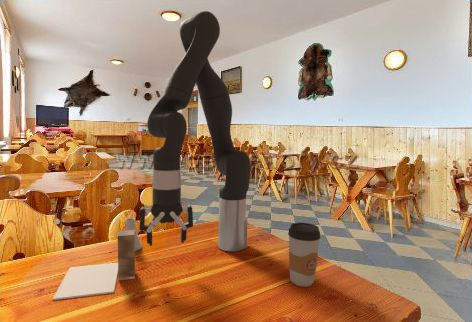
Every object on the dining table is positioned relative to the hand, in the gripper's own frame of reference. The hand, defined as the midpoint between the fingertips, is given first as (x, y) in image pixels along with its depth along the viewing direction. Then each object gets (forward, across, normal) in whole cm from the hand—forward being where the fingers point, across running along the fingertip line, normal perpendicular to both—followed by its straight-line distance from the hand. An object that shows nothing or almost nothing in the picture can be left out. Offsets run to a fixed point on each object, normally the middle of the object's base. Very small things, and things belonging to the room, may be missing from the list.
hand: (166, 243), depth 82 cm
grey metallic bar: (+8, +10, 0) cm, 13 cm away
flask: (+8, +10, -19) cm, 23 cm away
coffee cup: (+8, -35, +14) cm, 38 cm away
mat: (+8, +20, 0) cm, 21 cm away
